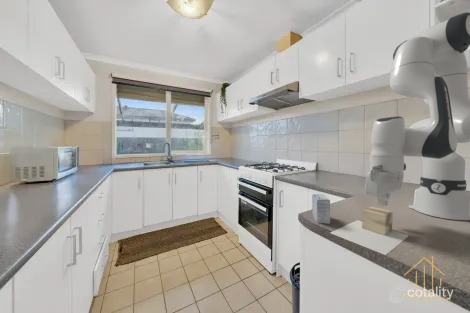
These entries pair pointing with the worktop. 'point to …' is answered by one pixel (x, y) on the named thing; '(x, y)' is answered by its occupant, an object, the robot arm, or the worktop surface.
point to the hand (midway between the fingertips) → (382, 205)
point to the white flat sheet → (370, 237)
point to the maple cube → (377, 220)
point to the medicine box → (321, 208)
